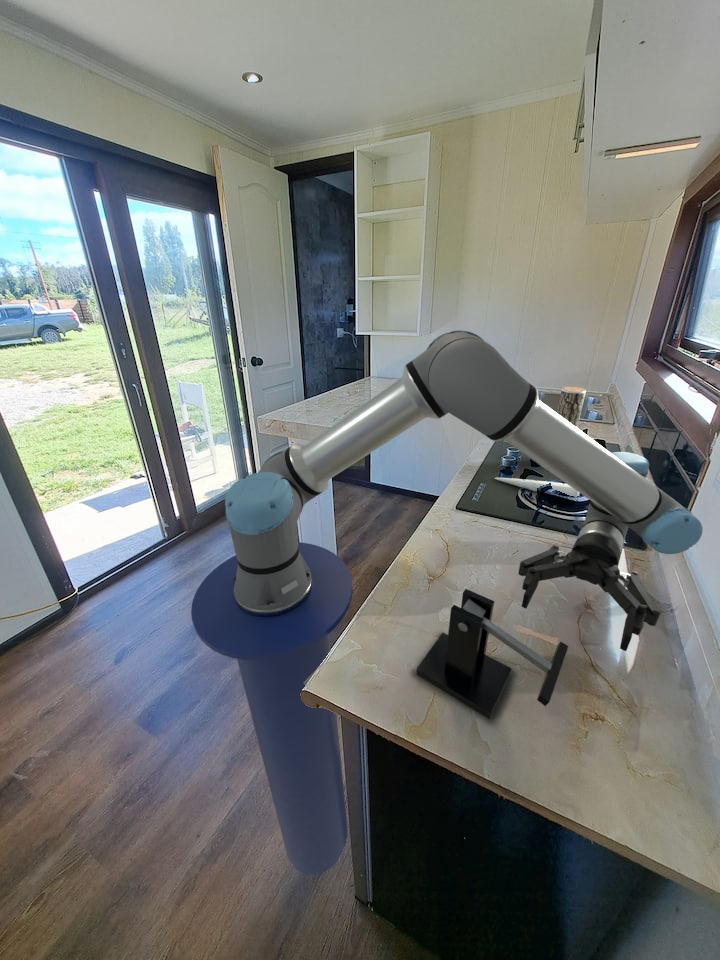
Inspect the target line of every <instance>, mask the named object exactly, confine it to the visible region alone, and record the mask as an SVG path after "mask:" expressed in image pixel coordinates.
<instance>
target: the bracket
mask: <svg viewBox="0 0 720 960" xmlns="http://www.w3.org/2000/svg"><path fill="white" fill-rule="evenodd" d="M461 596H462V597H461V604H460V605H461V606H458V605H455V604H453V605H452V606H451V608H450V614H449V624H448V633H445V632H443V631H442V632H441V634H440V635H439V637H438V638H437V639H436V641H435V642H434V644H433V645H432V646H431V647H430V649H429V651H428V652H427V653H426V655H425V656H424V658H423V659H422V660H421V662H420V663H419V664H418V666H417V668H416V671H415V672H416V673H415V674H416V675H417V676H418V677H420V678H422V679H423V680H425V681H427V682H428V683H430V684H431V685H433V686H435V687H436V688H438V689H439V690H440V691H443V692H444V693H446V694H447V695H449V696H451V697H453V698H454V699H456V700H457V701H459V702H461V703H462V704H464V705H466V706H467V707H469V708H470V709H472V710H474V711H475V712H477V713H478V714H480V715H481V716H483V717H485V718H486V719H488V720H490V719H491V718H492V715H493V713H494V711H495V709H496V708H497V705H498V703H499V701H500V698H501V696H502V694H503V691H504V689H505V687H506V686H507V683H508V681H509V679H510V677H511V675H512V671H513V670H512V669H513V668H512V667H511V666H508V665H507V664H505V663H502V662H501V661H499V660H496V659H495V658H493V657H492V656H489V655H487V654H486V653H487V647H488V641H489V635H490V633H489V632H488V631H486V630H485V629H483V628H482V626H483V618H481V617H479V616H477V615H475V614H473V613H470V612H468V611H466V610H464V609H462V608H463V606H464V605H465V604H466V602H467V601H468V599H470V600H471V601H473V602H474V603H476V604H477V605H479V606H480V607H482V608H483V609H484V610H486V612H485V614H484V615H483V616H484V617H485V618H487V619H488V620H489V621H491V622H492V618H493V614H494V613H493V612H494V606H495V600H492V599H490V598H488V597H487V596H484V595H481V594H479V593H477V592H474V591H472V590H470V589H468V588H464V590H463V592H462V595H461Z"/></svg>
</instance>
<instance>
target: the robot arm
mask: <svg viewBox="0 0 720 960" xmlns="http://www.w3.org/2000/svg"><path fill="white" fill-rule="evenodd" d="M448 414H450V415H452V416H453V417H455V418H456V419H458V420H460V421H462V422H463V423H465V424H467V425H468V426H470V427H471V428H472V429H474V430H476V431H478V432H479V433H480V434H482V435H483V436H485V437H487V438H488V439H489V440H491V441H493V442H500V441H504V442H506V443H507V444H509V445H510V446H511V447H513V448H514V449H516V450H517V451H519V452H520V453H522V454H523V455H525V456H526V457H527V458H529V459H530V460H532V461H533V462H534V463H536V464H537V465H539V466H540V467H542V468H544V469H545V470H546V471H548V472H549V473H551V474H552V475H554V476H555V477H556V478H558V480H561V481H562V482H564V483H565V484H568V485H569V486H571V487H572V488H574V489H575V490H577V491H578V492H580V494H581V495H582V496H584V497H585V498H587V499H588V500H589V505H588V508H587V512H586V516H585V518H584V521H583V524H582V526H581V529H580V530H579V532H578V535H577V537H576V540H575V541H574V544H573V547H572V548H571V551H569V552H567V553H566V552H564V551H561V550H560V546H558V545H555V544H554V545H552V546H551V547H550V548H549V549H548V550H545V551H543V552H541V553H538V554H536V555H533V556H530V557H528V558H525V559H523V560H521V561H520V563H519V567H518V576H521V577H524V579H523V581H522V586H521V588H522V590H524V591H525V592H524V593H523V598H522V602H521V608H523V609H527V608H528V606H529V604H530V602H531V601H532V599H533V596H534V594H535V592H536V591H537V588H538V586H539V582H542V581H546V580H553V579H558V578H563V577H564V578H565V579H568V578H574V577H576V579H578V580H581V581H585V582H588V583H590V584H593V585H595V586H597V585H598V586H599V587H600V588H601V590H603V592H604V593H608V594H609V595H610V597H611V598H612V599H613V600H614V601H615V603H617V604H618V606H619V607H620V608H621V609H622V610H623V611H624V613H625V614H626V618H625V621H624V625H623V631H622V635H621V641H620V644H619V645H620V646H619V650H622V651H624V652H627V650H628V647H629V646H630V644H631V643H630V642H631V640H632V637H633V635H635V636H639V635H641V633H642V630H643V628H644V623H646V624H647V625H649V626H651V627H656V625H657V623H658V621H659V619H660V617H661V614H662V612H661V610H660V609H659V607H658V605H657V604H656V603H655V601H654V600H653V598H652V597H651V595H650V593H649V592H648V591H647V589H646V587H645V586H644V584H643V583H642V582H641V578H640V576H641V575H640V573H639V572H638V571H635V570H631V571H630V573H627V572H623V571H621V570H620V568H619V565H620V561H621V555H622V552H623V549H624V544H625V539H626V536H627V533H628V530H629V529H630V530H632V531H633V532H634V533H636V534H637V535H638V536H639V537H640V538H641V539H642V541H643V542H644V543H645V544H647V545H648V546H650V547H651V548H652V549H653V550H654V551H655V552H657V553H660V554H664V555H675V554H676V555H677V554H680V553H684V552H686V551H688V550H690V548H692V547H693V546H695V545H697V543H698V542H699V541H700V540H701V537H702V536H703V531H704V530H703V525H702V522H701V521H700V519H698V518H697V517H696V516H695V515H694V514H693V513H692V511H690V510H689V509H688V508H686V507H684V506H683V505H682V504H680V503H679V502H678V501H676V500H675V499H674V498H673V497H671V496H670V495H669V494H668V493H666V492H665V491H663V490H662V489H661V488H660V487H659V486H657V485H656V484H655V483H653V482H652V481H651V480H650V479H649V478H647V476H648V475H649V468H650V463H649V460H648V459H647V458H645V457H644V456H642V455H640V454H636V453H632V452H627V451H613V452H612V451H611V452H610V451H609V450H607V449H606V448H605V447H603V446H602V445H601V444H599V443H598V442H597V441H596V440H594V439H593V438H591V437H590V436H588V435H587V434H586V433H585V432H583V431H582V430H581V429H580V428H577V427H575V426H574V425H572V424H571V423H570V422H568V421H567V420H566V419H564V418H563V417H562V416H560V415H559V414H558V413H557V411H555V410H553V408H551V406H548V405H547V404H546V403H545V402H543V401H541V399H539V390H538V388H537V387H535V386H534V385H533V384H531V383H530V382H529V381H528V380H527V379H525V378H524V377H523V376H521V375H520V373H519V372H518V371H516V370H515V369H514V367H513V366H511V364H510V363H509V362H508V361H507V360H506V359H505V358H504V357H503V355H502V354H501V353H500V352H499V351H498V350H497V349H496V348H495V346H493V345H491V344H490V343H488V342H487V341H485V340H484V338H482V337H481V336H479V335H478V334H476V333H474V332H472V331H468V330H461V329H460V330H459V329H457V330H452V331H447V332H444V333H442V334H440V335H439V336H437V337H436V338H435V339H433V340H432V342H430V343H429V345H428V346H427V348H426V349H425V350H424V351H423V352H421V353H420V354H419V355H418V356H416V357H414V359H412V360H410V361H409V362H408V363H406V364H405V365H404V367H403V372H402V376H401V378H400V379H398V380H397V381H395V382H394V383H392V384H391V385H389V386H388V387H387V388H385V389H384V390H382V391H381V392H379V393H378V394H377V395H375V396H374V397H372V398H371V399H369V400H368V401H366V402H365V403H363V404H362V405H361V406H359V407H357V409H355V410H354V411H352V412H350V413H349V414H348V415H347V416H345V417H343V418H342V419H341V420H339V421H338V422H337V423H334V424H333V425H332V426H330V427H329V428H328V429H327V430H325V431H324V432H322V433H321V434H318V436H316V437H314V439H312V440H311V441H309V442H307V443H306V444H301V443H293V444H292V445H290V446H289V447H287V448H286V449H283V450H282V449H281V450H280V451H276V452H275V453H273V454H272V455H270V456H269V457H268V458H267V459H266V460H265V461H264V462H263V464H262V466H261V467H260V469H259V470H258V471H257V472H254V473H251V474H248V475H246V476H245V478H240V479H238V480H237V481H235V482H234V483H233V484H232V485H231V486H230V487H229V489H228V490H227V492H226V494H225V497H224V498H225V499H224V500H225V501H224V505H225V517H226V521H227V523H228V528H229V531H230V535H231V540H232V545H233V548H234V552H235V555H236V557H237V562H238V568H237V574H236V577H234V580H235V584H234V595H235V600H236V603H237V605H238V606H239V608H240V609H241V610H242V611H244V612H245V613H247V614H250V615H252V616H257V617H273V616H278V615H282V614H285V613H288V612H290V611H292V610H294V609H295V608H297V607H298V606H300V605H301V604H302V603H303V602H304V601H305V600H306V599H307V598H308V596H309V594H310V592H311V590H312V576H311V572H310V570H309V568H308V566H307V564H306V563H305V561H304V559H303V557H302V556H301V554H300V552H299V546H298V542H299V538H298V530H297V525H298V521H299V518H300V516H301V513H302V511H303V509H304V506H305V505H306V504H307V503H308V502H310V501H311V500H313V499H314V498H316V497H318V496H319V495H321V494H322V493H324V492H325V491H326V490H327V489H328V487H329V480H330V479H332V478H334V477H335V476H337V475H338V474H340V473H342V472H343V471H344V470H346V469H348V468H350V467H351V466H353V465H354V464H355V463H358V462H360V460H362V459H363V458H365V457H367V456H368V455H370V454H371V453H373V452H375V451H376V450H378V449H379V448H381V447H383V446H384V445H385V444H387V443H388V442H390V441H392V440H393V439H395V438H396V437H398V436H400V435H401V434H402V433H404V432H406V431H407V430H410V428H412V427H414V426H415V425H417V424H418V423H420V422H421V421H423V420H424V419H426V418H431V419H435V420H439V419H441V418H443V417H444V416H446V415H448ZM620 581H621V582H620Z"/></svg>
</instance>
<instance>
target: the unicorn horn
mask: <svg viewBox="0 0 720 960" xmlns="http://www.w3.org/2000/svg"><path fill="white" fill-rule="evenodd" d="M494 479H495V480H496V481H498V482H502V483H506V484H509V485H511V486H516V487H519V488H522V489H525V490H529V491H533V492H536V493H538V492H537V490H535V489H537V488H539V487H540V486H543V485H546V484H549V483H551V486H552V488H553V489H555V490H557V491H560V492H562V493H565V494H567V495H570V496H574V497H577V496H579V497H580V494H581V493H580V492H578V491H577V490H575V489H574V488H572V487H571V486H569V485H568V484H567V483H565V482H564V483H562V482H555V481H545V480H535V479H523V478H513V477H512V478H510V477H494Z"/></svg>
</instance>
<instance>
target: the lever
mask: <svg viewBox="0 0 720 960" xmlns="http://www.w3.org/2000/svg"><path fill="white" fill-rule="evenodd" d="M462 609H464V610H466V611H468V612H470V613H473V614H475V615H477V616H479V617H481V618H483V626H482V628H483V629H485V630H486V631H488V632H489V635H492V636H493V637H494V638H496V639H497V640H498V641H500V642H502V643H503V644H504V645H506V647H507V646H508V648H510V649H511V650H512V651H514V652H516V653H517V654H518V655H520V656H521V657H522V658H524V659H526V660H527V661H528V662H530V663H531V664H533V665H534V666H536V667H537V668H538V669H540V670H541V671H543V672H544V673H545V677H544V680H543V682H542V685H541V688H540V690H539V693H538V695H537V698H536V700H537V702H539V703H540V704H541V705H543V706H544V707H546V706H547V705H549V704H550V701H551V699H552V696H553V693H554V690H555V687H556V685H557V681H558V678H559V675H560V673H561V669H562V667H563V664H564V662H565V661H564V660H565V659H566V655H567V652H568V650H569V645H567V644H566V643H564V642H563V641H559V643H558V644H557V645H556V648H555V650H554V653H553V656H552V659H551V661H549V660H547V659H546V658H544V657H543V656H541V655H540V654H538V653H537V652H535V651H534V650H533V649H532V648H530V647H529V646H527V645H526V644H524V643H523V642H521V641H520V640H518V639H517V638H516V637H514V636H512V635H511V634H510V633H508V632H507V631H505V630H504V629H503V628H501V627H500V626H498V625H497V624H496V623H494V622H493V621H492V620H491V621H489V620H488V619H487V618H485V617H484V616H483V615H484V614H485V612H486V610H484V609H483V608H482V607H480V606H479V605H477V604H476V603H474V602H473V601H471V600H470V599H468V601H467V602H466V604H465V605H464V606H463V608H462Z"/></svg>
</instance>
